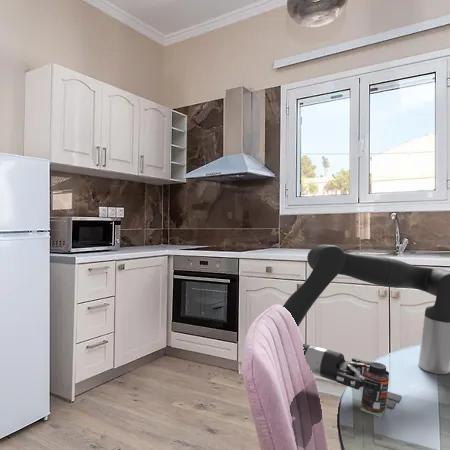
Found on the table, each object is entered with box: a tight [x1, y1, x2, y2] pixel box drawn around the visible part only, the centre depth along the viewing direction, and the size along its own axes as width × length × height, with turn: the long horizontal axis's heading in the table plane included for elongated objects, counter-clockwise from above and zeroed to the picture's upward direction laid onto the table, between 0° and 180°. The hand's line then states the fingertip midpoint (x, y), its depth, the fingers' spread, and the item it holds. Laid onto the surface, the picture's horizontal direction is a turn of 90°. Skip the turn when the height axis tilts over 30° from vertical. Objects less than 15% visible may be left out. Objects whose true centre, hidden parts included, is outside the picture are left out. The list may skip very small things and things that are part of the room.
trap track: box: [360, 391, 402, 418], centre depth 110 cm, size 16×7×1 cm, turn 146°
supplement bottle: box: [361, 361, 390, 412], centre depth 107 cm, size 6×6×11 cm
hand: (384, 381), depth 105 cm, fingers open, 8 cm apart
